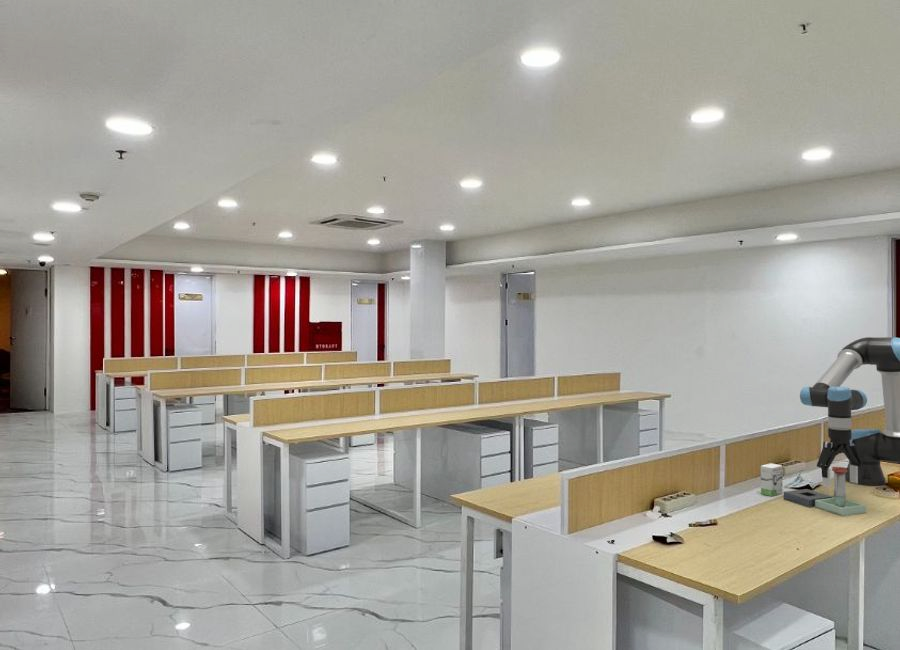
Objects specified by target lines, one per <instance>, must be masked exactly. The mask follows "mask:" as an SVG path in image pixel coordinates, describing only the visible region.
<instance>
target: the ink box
mask: <svg viewBox="0 0 900 650" xmlns="http://www.w3.org/2000/svg"><path fill="white" fill-rule="evenodd" d="M783 490H784V489H783V465H781V464H776V463H773V462H772V463H771V462H769V463H767V464H763V465H761V466H760V494H761V495H765V496H769V497H775V496H777V495H782V494H783V493H784V491H783Z"/></svg>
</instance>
